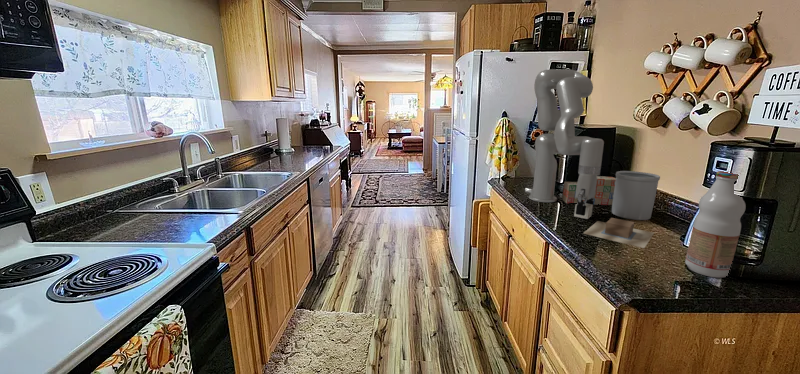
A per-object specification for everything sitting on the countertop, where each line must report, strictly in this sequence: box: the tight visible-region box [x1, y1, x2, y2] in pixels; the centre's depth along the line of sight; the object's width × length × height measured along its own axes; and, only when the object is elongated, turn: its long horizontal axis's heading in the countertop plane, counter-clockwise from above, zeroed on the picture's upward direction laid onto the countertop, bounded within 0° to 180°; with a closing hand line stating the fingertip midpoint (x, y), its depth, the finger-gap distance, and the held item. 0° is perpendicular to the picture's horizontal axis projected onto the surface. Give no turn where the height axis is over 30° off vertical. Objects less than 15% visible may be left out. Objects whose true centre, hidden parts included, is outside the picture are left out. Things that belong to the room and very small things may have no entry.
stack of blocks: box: [562, 175, 616, 206], centre depth 158 cm, size 21×6×12 cm, turn 84°
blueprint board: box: [583, 220, 655, 249], centre depth 120 cm, size 18×18×1 cm
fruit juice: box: [684, 170, 747, 278], centre depth 92 cm, size 9×9×28 cm
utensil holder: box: [611, 170, 661, 221], centre depth 140 cm, size 15×15×18 cm
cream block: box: [573, 203, 594, 220], centre depth 137 cm, size 5×5×6 cm
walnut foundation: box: [605, 217, 635, 238], centre depth 119 cm, size 7×7×4 cm
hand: (584, 212), depth 136 cm, fingers open, 9 cm apart
